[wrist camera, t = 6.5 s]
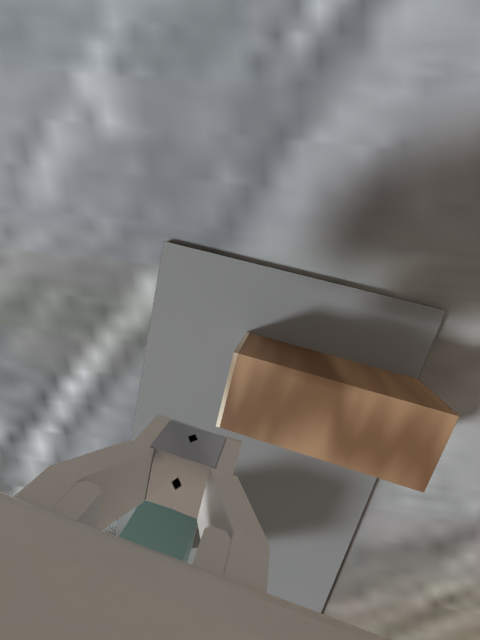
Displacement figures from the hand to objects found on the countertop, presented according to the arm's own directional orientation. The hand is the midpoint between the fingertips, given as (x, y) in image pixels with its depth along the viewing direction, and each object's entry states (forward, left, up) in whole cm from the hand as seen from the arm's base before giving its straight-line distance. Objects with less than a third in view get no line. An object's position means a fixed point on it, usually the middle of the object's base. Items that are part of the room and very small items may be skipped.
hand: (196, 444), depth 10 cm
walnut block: (0, 0, -6) cm, 6 cm away
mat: (+7, +2, -9) cm, 11 cm away
